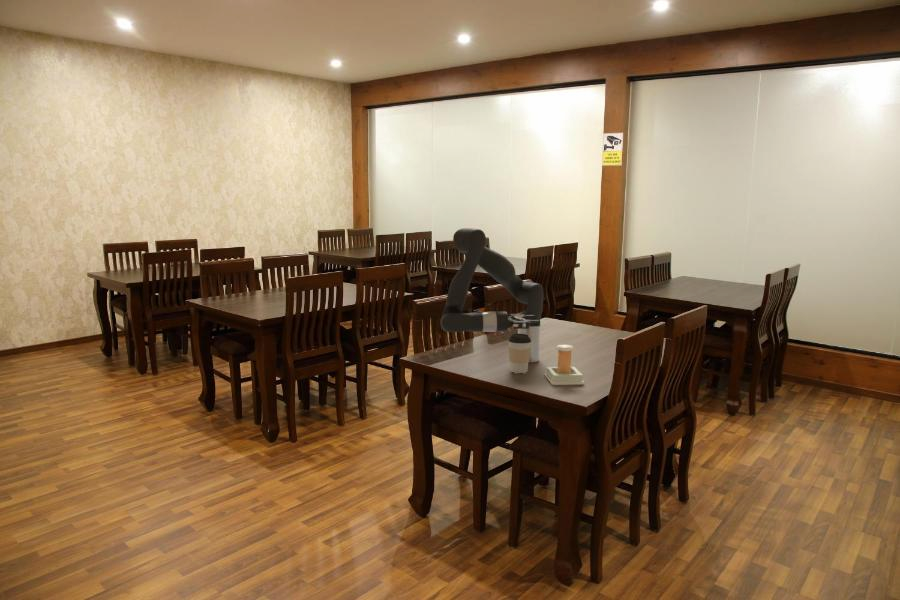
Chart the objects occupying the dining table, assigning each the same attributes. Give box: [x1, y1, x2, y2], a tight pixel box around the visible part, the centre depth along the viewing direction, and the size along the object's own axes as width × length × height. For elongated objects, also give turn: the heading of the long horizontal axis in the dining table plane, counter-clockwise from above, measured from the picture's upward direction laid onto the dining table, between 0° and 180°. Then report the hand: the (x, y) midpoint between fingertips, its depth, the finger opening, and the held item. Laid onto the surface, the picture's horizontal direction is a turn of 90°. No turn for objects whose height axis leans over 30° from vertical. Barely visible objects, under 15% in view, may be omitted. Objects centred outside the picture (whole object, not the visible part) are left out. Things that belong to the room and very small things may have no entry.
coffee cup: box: [507, 333, 531, 374], centre depth 237 cm, size 9×9×15 cm
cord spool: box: [556, 344, 574, 374], centre depth 227 cm, size 6×6×12 cm
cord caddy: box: [544, 366, 585, 386], centre depth 227 cm, size 12×12×4 cm
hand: (537, 320), depth 223 cm, fingers open, 8 cm apart
